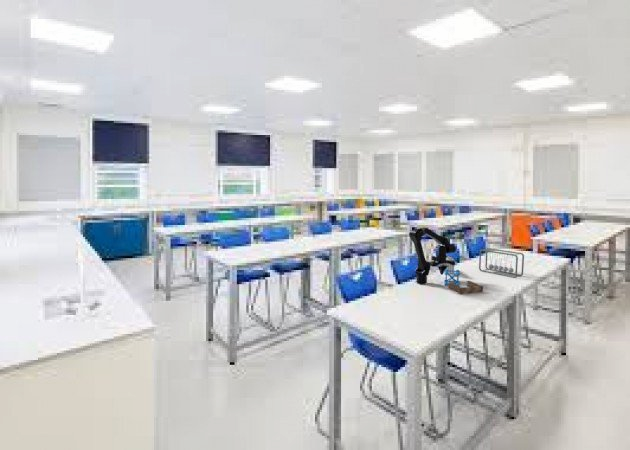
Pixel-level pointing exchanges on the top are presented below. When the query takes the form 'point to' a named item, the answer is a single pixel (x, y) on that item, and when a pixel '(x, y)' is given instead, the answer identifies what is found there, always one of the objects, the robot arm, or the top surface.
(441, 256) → the robot arm
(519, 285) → the top surface
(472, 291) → the box
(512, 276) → the newton's cradle
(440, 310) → the top surface
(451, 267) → the test tube rack
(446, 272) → the molecular structure
